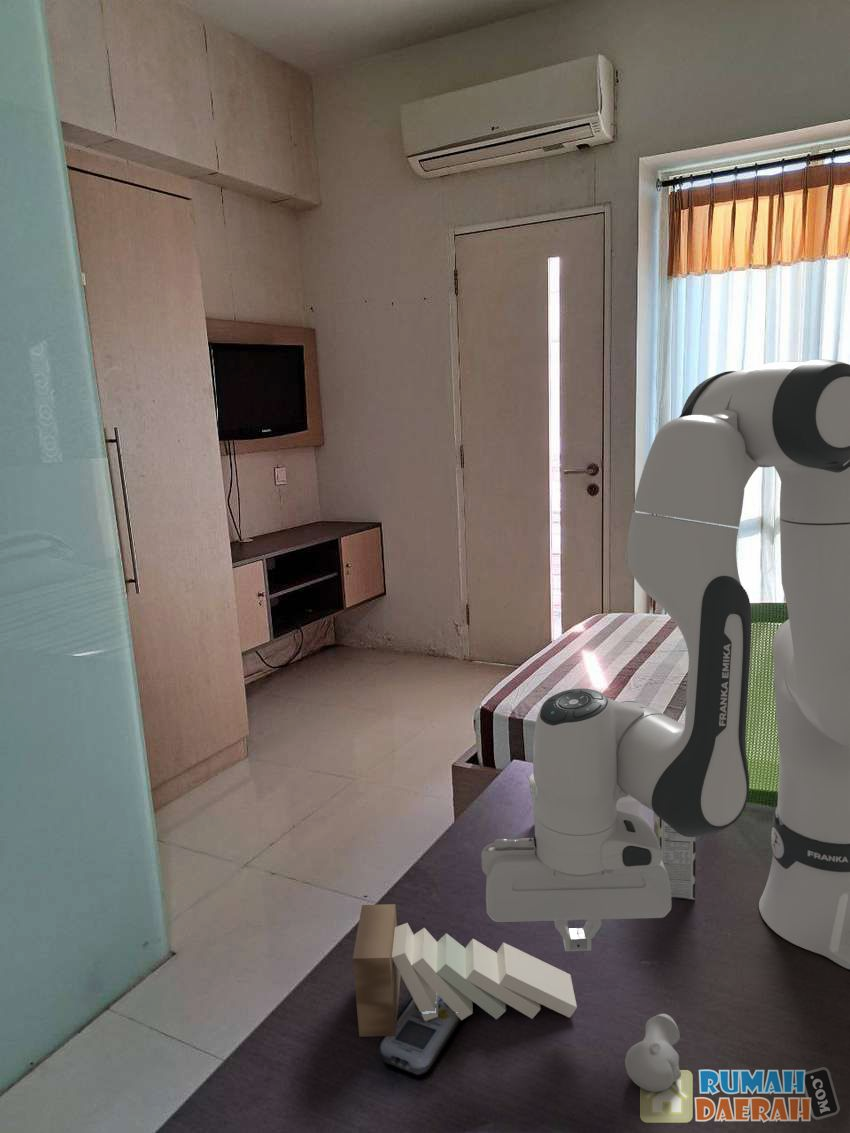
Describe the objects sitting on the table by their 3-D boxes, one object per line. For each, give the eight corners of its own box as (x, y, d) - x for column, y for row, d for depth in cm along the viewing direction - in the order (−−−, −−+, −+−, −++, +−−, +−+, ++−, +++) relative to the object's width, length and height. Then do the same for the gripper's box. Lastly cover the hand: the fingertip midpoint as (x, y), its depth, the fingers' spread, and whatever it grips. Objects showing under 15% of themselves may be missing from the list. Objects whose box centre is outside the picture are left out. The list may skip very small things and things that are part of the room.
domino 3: (503, 978, 92) (446, 933, 91) (506, 1010, 87) (445, 963, 86) (494, 986, 92) (437, 941, 91) (496, 1019, 88) (436, 972, 86)
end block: (400, 976, 95) (395, 904, 93) (395, 1035, 86) (389, 957, 84) (368, 977, 95) (362, 905, 93) (359, 1036, 86) (352, 958, 84)
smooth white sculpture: (659, 1116, 76) (613, 1078, 79) (690, 1059, 82) (646, 1025, 85) (673, 1089, 75) (625, 1051, 77) (702, 1033, 81) (657, 999, 83)
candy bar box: (651, 852, 117) (652, 751, 113) (686, 854, 116) (688, 752, 112) (657, 899, 106) (658, 789, 103) (696, 902, 105) (698, 791, 102)
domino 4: (535, 976, 92) (472, 938, 91) (540, 1009, 87) (473, 969, 86) (528, 985, 92) (465, 948, 91) (532, 1019, 87) (465, 979, 87)
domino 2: (471, 980, 92) (424, 927, 91) (472, 1013, 87) (422, 957, 86) (461, 987, 93) (413, 934, 91) (461, 1020, 88) (411, 965, 86)
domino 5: (570, 974, 92) (503, 942, 91) (576, 1007, 87) (506, 973, 86) (563, 984, 92) (496, 952, 91) (569, 1017, 87) (499, 984, 87)
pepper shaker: (609, 824, 125) (609, 770, 123) (634, 822, 125) (634, 768, 123) (617, 838, 121) (617, 782, 119) (642, 836, 121) (643, 780, 119)
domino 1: (438, 983, 93) (407, 922, 91) (437, 1016, 88) (404, 952, 86) (426, 988, 93) (395, 927, 91) (424, 1021, 88) (391, 957, 86)
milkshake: (521, 822, 127) (519, 766, 125) (550, 815, 128) (549, 759, 126) (532, 836, 123) (531, 778, 121) (563, 829, 124) (562, 772, 122)
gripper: (481, 856, 82) (486, 969, 85) (677, 851, 81) (675, 965, 84) (479, 824, 89) (484, 930, 92) (661, 818, 88) (659, 926, 91)
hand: (577, 947), depth 88 cm, fingers closed
